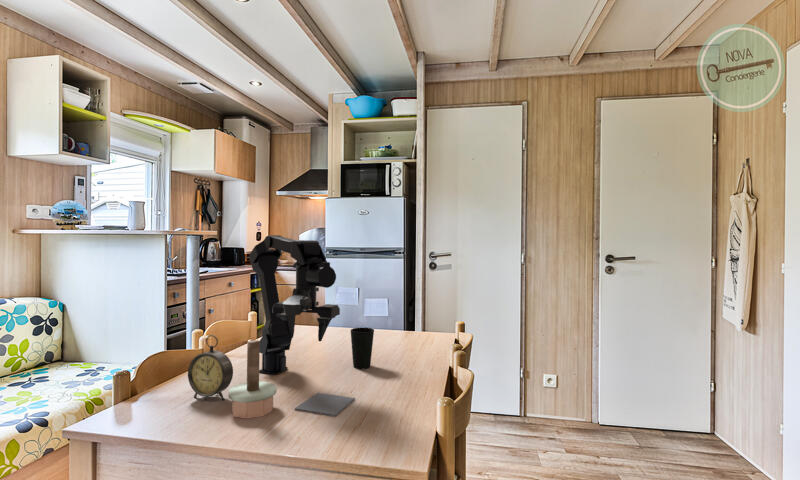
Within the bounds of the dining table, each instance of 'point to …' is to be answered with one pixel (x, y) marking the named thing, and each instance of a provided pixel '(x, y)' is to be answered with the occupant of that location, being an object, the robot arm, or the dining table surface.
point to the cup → (362, 347)
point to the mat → (325, 404)
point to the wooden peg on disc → (252, 379)
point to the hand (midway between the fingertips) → (305, 339)
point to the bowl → (252, 408)
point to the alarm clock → (210, 372)
